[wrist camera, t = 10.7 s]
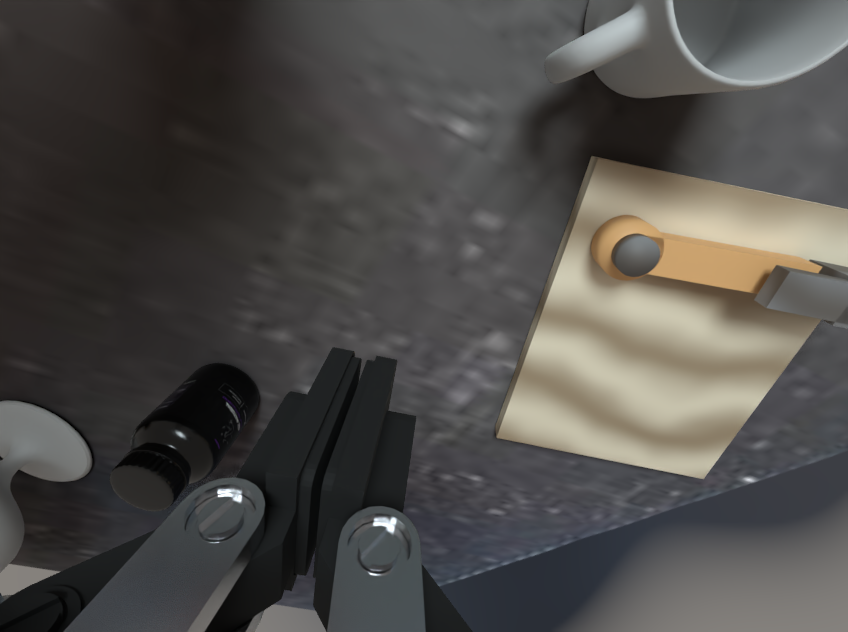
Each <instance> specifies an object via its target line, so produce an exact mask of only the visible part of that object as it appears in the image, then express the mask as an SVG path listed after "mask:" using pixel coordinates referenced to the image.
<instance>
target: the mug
mask: <svg viewBox="0 0 848 632" xmlns="http://www.w3.org/2000/svg"><path fill="white" fill-rule="evenodd" d="M847 45H848V0H589V3H588V7H587V12H586V17H585V26H584V35H583V36H581V37H579V38H577V39H576V40H574V41H572V42H570V43H568V44H566V45H565V46H563V47H561V48H559V49H558V50H556V51H554V52H553V53H551V54H550V55H549V56H548V57H547V58H546V60H545V73H546V76H547V78H548V80H549V81H550V82H551V83H554V84H558V83H562V82H565V81H568V80H571V79H573V78H576V77H578V76H580V75H583V74H585V73H587V72H589V71H591V70H594V72H595V73H596V75H597V76H598V78H599V79H600V80H601V81H602V82H603V83H604V84H605V85H606V86H608V87H609V88H610V89H611V90H613V91H615V92H617V93H619V94H622V95H624V96H628V97H633V98H655V97H663V96H672V95H686V94H700V93H714V92H728V91H741V90H751V89H759V88H764V87H768V86H773V85H777V84H780V83H783V82H786V81H788V80H791V79H794V78H796V77H798V76H800V75H802V74H805V73H807V72H809V71H811V70H813V69H814V68H816V67H817V66H819V65H821V64H822V63H824V62H826V61H827V60H829V59H830V58H832V57H833V56H834V55H836V54H837V53H838V52H840V51H841V50H842V49H844V48H845V47H846V46H847Z"/></svg>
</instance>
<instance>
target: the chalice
mask: <svg viewBox="0 0 848 632" xmlns="http://www.w3.org/2000/svg"><path fill="white" fill-rule="evenodd" d="M0 456H1V457H2V458H3V460H1V461H0V572H1V571H2V570H3V569H4V568H5V567H6V566H7V565H8V564H9V563H10V562H11V561H12V560H13V559H14V558H15V557H16V555H17V553H18V551H19V549H20V547H21V544H22V542H23V538H24V521H23V517H22V514H21V511H20V509H19V507H18V505H17V503H16V502H15V500H14V498H13V496H12V493H11V490H10V483H11V480H12V477H13V476H14V474H15V473H16V472H17V471H18V470H21V471H24V472H26V473H28V474H30V475H32V476H35V477H38V478H41V479H45V480H50V481H58V482H67V481H75V480H78V479H80V478H83V477H84V476H85V475H87V474H88V473H89V471H90V469H91V467H92V456H91V452H90V449H89V448H88V446H87V444H86V442H85V441H84V439H83V438H82V437H81V436H80V434H79V433H78V432H77V431H76V430H75V429H74V428H73V427H72V426H70V425H69V424H68V423H67V422H65V421H64V420H63V419H61V418H60V417H58V416H57V415H55V414H53V413H51V412H49V411H47V410H45V409H43V408H41V407H38V406H35V405H33V404H29V403H25V402H20V401H9V400H5V401H0Z"/></svg>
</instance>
